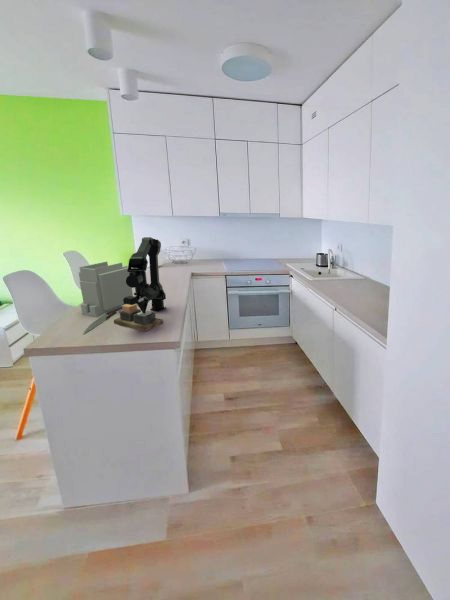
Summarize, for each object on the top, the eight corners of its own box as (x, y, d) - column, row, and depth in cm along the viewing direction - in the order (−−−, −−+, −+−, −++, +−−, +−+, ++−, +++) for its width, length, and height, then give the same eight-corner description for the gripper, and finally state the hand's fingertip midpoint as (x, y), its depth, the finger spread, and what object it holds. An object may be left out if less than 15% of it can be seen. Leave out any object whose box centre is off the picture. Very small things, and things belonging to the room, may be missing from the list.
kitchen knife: (114, 307, 160) (79, 327, 132) (115, 307, 160) (81, 327, 132) (115, 314, 161) (81, 335, 133) (116, 314, 161) (83, 335, 133)
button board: (132, 316, 156) (131, 305, 154) (162, 323, 145) (161, 312, 143) (114, 323, 146) (112, 312, 144) (145, 331, 135) (144, 319, 133)
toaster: (78, 313, 162) (70, 268, 154) (114, 300, 185) (109, 260, 177) (100, 317, 155) (92, 270, 147) (135, 303, 177) (129, 261, 169)
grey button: (145, 318, 146) (144, 310, 144) (152, 319, 143) (151, 312, 142) (137, 321, 141) (136, 313, 140) (144, 323, 139) (144, 315, 138)
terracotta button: (130, 310, 150) (129, 303, 148) (137, 311, 147) (136, 304, 146) (123, 313, 146) (122, 305, 144) (129, 314, 143) (128, 307, 142)
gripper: (137, 288, 125) (141, 322, 130) (166, 279, 140) (169, 309, 145) (120, 286, 130) (124, 318, 135) (150, 277, 146) (153, 306, 150)
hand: (144, 312), depth 141 cm, fingers closed, pressing on grey button
